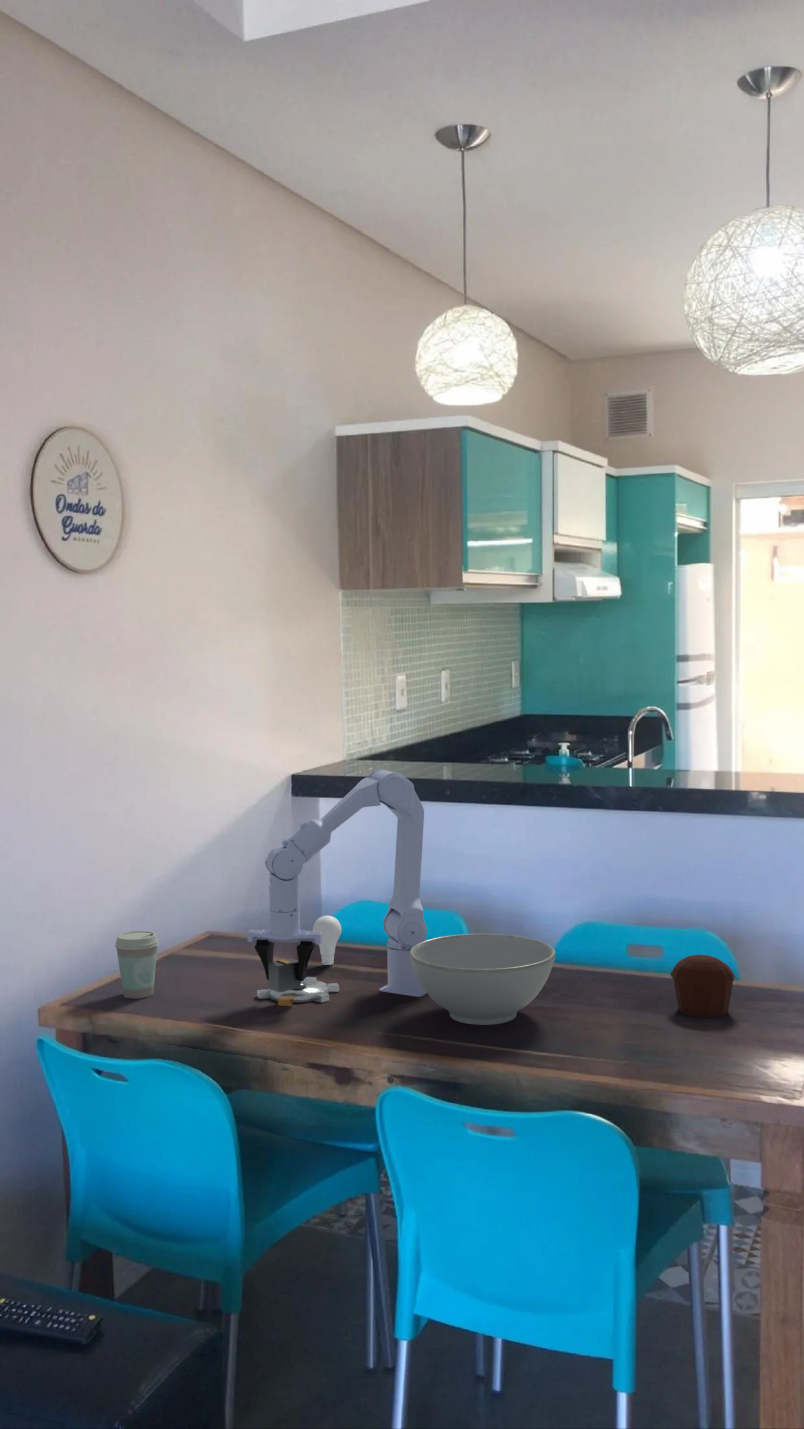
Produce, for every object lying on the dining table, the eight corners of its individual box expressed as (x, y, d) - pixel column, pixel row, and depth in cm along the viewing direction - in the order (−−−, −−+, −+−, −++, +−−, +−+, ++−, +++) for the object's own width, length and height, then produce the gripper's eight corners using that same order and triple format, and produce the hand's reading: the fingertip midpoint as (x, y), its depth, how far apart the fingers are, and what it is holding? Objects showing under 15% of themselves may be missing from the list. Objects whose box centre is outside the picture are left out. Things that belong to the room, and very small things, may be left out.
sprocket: (317, 978, 245) (316, 956, 245) (353, 997, 231) (352, 973, 231) (245, 990, 237) (244, 967, 237) (278, 1010, 223) (277, 986, 223)
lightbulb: (338, 970, 252) (337, 919, 252) (310, 969, 253) (309, 918, 253) (344, 963, 258) (343, 913, 258) (317, 962, 259) (316, 912, 259)
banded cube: (300, 987, 228) (300, 960, 228) (278, 992, 225) (278, 965, 225) (290, 983, 231) (290, 957, 231) (268, 988, 228) (268, 961, 228)
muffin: (744, 1007, 221) (743, 954, 221) (723, 1023, 212) (723, 968, 212) (683, 998, 228) (682, 946, 228) (660, 1013, 219) (660, 959, 218)
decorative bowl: (515, 988, 237) (514, 928, 236) (583, 1026, 212) (582, 959, 211) (389, 1004, 227) (388, 942, 227) (444, 1046, 202) (443, 976, 202)
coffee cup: (128, 1003, 231) (126, 942, 230) (109, 994, 237) (107, 935, 237) (168, 995, 236) (166, 935, 235) (147, 986, 243) (146, 928, 242)
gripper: (326, 906, 231) (327, 975, 231) (255, 904, 233) (256, 972, 234) (316, 913, 224) (318, 985, 224) (243, 911, 227) (244, 982, 227)
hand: (286, 979), depth 229 cm, fingers closed on banded cube, 6 cm apart
